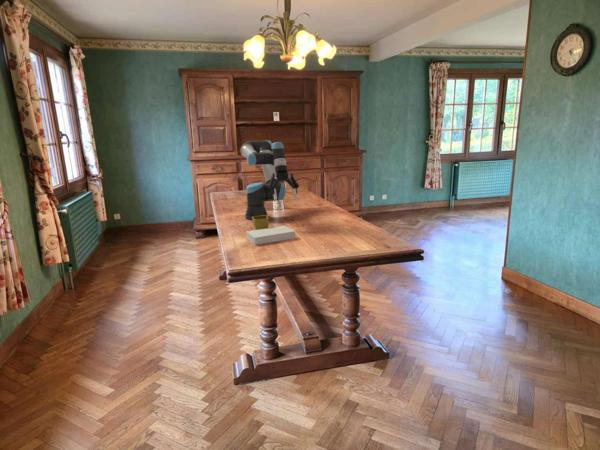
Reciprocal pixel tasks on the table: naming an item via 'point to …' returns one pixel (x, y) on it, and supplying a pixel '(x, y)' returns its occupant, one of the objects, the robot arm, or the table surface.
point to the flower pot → (260, 222)
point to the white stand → (270, 235)
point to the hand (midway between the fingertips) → (285, 199)
